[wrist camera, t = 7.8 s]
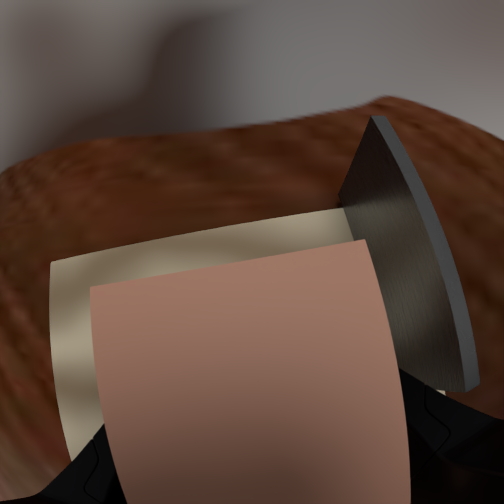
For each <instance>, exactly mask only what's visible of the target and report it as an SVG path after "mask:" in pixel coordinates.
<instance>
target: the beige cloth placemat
mask: <svg viewBox="0 0 504 504" xmlns="http://www.w3.org/2000/svg"><path fill="white" fill-rule="evenodd" d="M352 241H354V240H353V236H352V233H351V230H350V227H349V224H348V221H347V218H346V215H345V212H344V209H343V208H338V209H331V210H324V211H318V212H311V213H305V214H298V215H292V216H286V217H279V218H273V219H267V220H261V221H255V222H249V223H243V224H238V225H232V226H226V227H221V228H215V229H210V230H204V231H199V232H193V233H188V234H183V235H177V236H172V237H167V238H162V239H157V240H152V241H147V242H142V243H137V244H132V245H127V246H122V247H117V248H112V249H108V250H103V251H98V252H94V253H89V254H85V255H80V256H76V257H71V258H67V259H62V260H58V261H54V262H51V269H50V298H49V311H50V340H51V353H52V364H53V373H54V381H55V388H56V395H57V401H58V406H59V412H60V417H61V422H62V426H63V431H64V435H65V439H66V443H67V447H68V450H69V454H70V457H71V461H73V460H74V459H75V458H76V457H77V455H78V454H79V453H80V452H81V451H82V449H83V448H84V447H85V446H86V445H87V443H88V442H89V441H90V440H91V439H93V436H94V435H95V434H96V432H97V431H98V430H99V429H100V427H101V426H102V425H103V424H104V419H103V414H102V409H101V404H100V398H99V392H98V385H97V379H96V371H95V363H94V354H93V343H92V330H91V312H90V287H92V286H98V285H104V284H110V283H117V282H123V281H129V280H135V279H141V278H146V277H152V276H158V275H164V274H170V273H176V272H182V271H188V270H194V269H199V268H205V267H211V266H217V265H223V264H228V263H234V262H240V261H245V260H251V259H257V258H263V257H268V256H274V255H280V254H285V253H291V252H296V251H302V250H308V249H313V248H319V247H324V246H330V245H335V244H341V243H346V242H352ZM437 391H439V392H440V393H442V394H444V395H445V391H441V390H437Z"/></svg>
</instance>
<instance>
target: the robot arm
mask: <svg viewBox="0 0 504 504" xmlns="http://www.w3.org/2000/svg"><path fill="white" fill-rule="evenodd" d="M398 371H399V376H400V382H401V389H402V395H403V402H404V409H405V417H406V426H407V436H408V447H409V462H410V488H411V504H504V420H503V419H498V418H494V417H492V416H489V415H487V414H484V413H482V412H480V411H477V410H475V409H473V408H471V407H468V406H466V405H464V404H462V403H460V402H458V401H456V400H453V399H451V398H449V397H447V396H446V395H444V394H442V393H440V392H439V391H437V390H435V389H434V388H432V387H430V386H429V385H427V384H426V385H425V383H424V382H422V381H420V380H419V379H417V378H415V377H414V376H412V375H411V374H409V373H407V372H406V371H404V370H403V369H401V368H399V367H398ZM0 504H127V501H126V498H125V495H124V493H123V490H122V487H121V484H120V481H119V477H118V474H117V471H116V468H115V464H114V461H113V457H112V453H111V449H110V446H109V442H108V437H107V433H106V429H105V424H103V425H102V426H101V427H100V429H99V430H98V431H97V432H96V434H95V435H94V436H93V439H91V440H90V441H89V442H88V443H87V445H86V446H85V447H84V448H83V449H82V451H81V452H80V453H79V454H78V455H77V457H76V458H75V459H74V460H73V461H72V462H71V463H70V464H69V465H68V466H67V467H66V468H65V469H64V470H63V471H62V472H61V473H60V474H59V475H58V476H57V477H56V478H55V479H54V480H53V481H52V482H51V483H50V484H49V485H48V486H47V487H46V488H44V489H43V490H42V491H41V492H39V493H37V494H35V495H33V496H30V497H26V498H20V499H14V500H7V501H0Z"/></svg>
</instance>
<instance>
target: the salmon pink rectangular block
mask: <svg viewBox="0 0 504 504" xmlns="http://www.w3.org/2000/svg"><path fill="white" fill-rule="evenodd" d="M90 312H91V330H92V343H93V354H94V363H95V371H96V379H97V385H98V392H99V398H100V404H101V409H102V414H103V419H104V424H105V429H106V433H107V437H108V442H109V446H110V449H111V453H112V457H113V461H114V464H115V468H116V471H117V474H118V477H119V481H120V484H121V487H122V490H123V493H124V495H125V498H126V501H127V504H411V488H410V462H409V447H408V436H407V426H406V417H405V409H404V402H403V395H402V389H401V382H400V376H399V371H398V365H397V360H396V355H395V350H394V345H393V340H392V336H391V331H390V327H389V322H388V318H387V314H386V310H385V306H384V302H383V298H382V294H381V291H380V287H379V283H378V280H377V276H376V273H375V270H374V266H373V263H372V260H371V256H370V253H369V250H368V247H367V244H366V241H365V239H363V240H357V241H352V242H346V243H341V244H335V245H330V246H324V247H319V248H313V249H308V250H302V251H296V252H291V253H285V254H280V255H274V256H268V257H263V258H257V259H251V260H245V261H240V262H234V263H228V264H223V265H217V266H211V267H205V268H199V269H194V270H188V271H182V272H176V273H170V274H164V275H158V276H152V277H146V278H141V279H135V280H129V281H123V282H117V283H110V284H104V285H98V286H92V287H90Z"/></svg>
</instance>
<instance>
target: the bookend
mask: <svg viewBox="0 0 504 504" xmlns="http://www.w3.org/2000/svg"><path fill="white" fill-rule="evenodd" d="M338 195H339V198H340V201H341V204H342V207H343V209H344V212H345V215H346V218H347V221H348V224H349V227H350V230H351V233H352V236H353V240H354V241H357V240H363V239H365V241H366V244H367V247H368V250H369V253H370V256H371V260H372V263H373V266H374V270H375V273H376V276H377V280H378V283H379V287H380V291H381V294H382V298H383V302H384V306H385V310H386V314H387V318H388V322H389V327H390V331H391V336H392V340H393V345H394V350H395V355H396V360H397V365H398V367H399V368H401V369H403V370H404V371H406V372H407V373H409V374H411V375H412V376H414V377H415V378H417V379H419V380H420V381H422V382H424V383H425V385H426V384H427V385H429V386H430V387H432V388H434V389H435V390H441V391H452V392H468V391H469V390H471V389H472V388H474V387H476V386H477V385H479V384H480V379H479V370H478V362H477V356H476V349H475V343H474V338H473V333H472V328H471V323H470V318H469V314H468V310H467V305H466V301H465V298H464V294H463V290H462V286H461V283H460V279H459V276H458V273H457V270H456V266H455V263H454V260H453V257H452V254H451V251H450V248H449V246H448V243H447V240H446V237H445V235H444V232H443V229H442V227H441V224H440V222H439V219H438V217H437V215H436V212H435V210H434V207H433V205H432V203H431V201H430V198H429V196H428V194H427V192H426V190H425V187H424V185H423V183H422V181H421V179H420V177H419V175H418V173H417V171H416V169H415V167H414V165H413V163H412V161H411V160H410V158H409V156H408V154H407V152H406V150H405V148H404V147H403V145H402V143H401V141H400V140H399V138H398V136H397V135H396V133H395V131H394V129H393V128H392V126H391V125H390V123H389V121H388V120H387V118H386V117H385V116H371V117H370V119H369V122H368V124H367V127H366V129H365V132H364V134H363V137H362V139H361V142H360V144H359V147H358V149H357V152H356V154H355V156H354V159H353V161H352V163H351V166H350V168H349V171H348V173H347V175H346V177H345V180H344V182H343V184H342V187H341V189H340V191H339V193H338Z"/></svg>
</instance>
